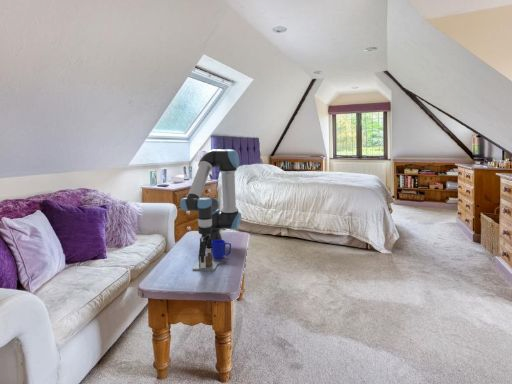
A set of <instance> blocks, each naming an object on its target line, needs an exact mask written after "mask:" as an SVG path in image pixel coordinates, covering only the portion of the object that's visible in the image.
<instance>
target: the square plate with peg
mask: <svg viewBox="0 0 512 384" xmlns="http://www.w3.org/2000/svg"><path fill="white" fill-rule="evenodd" d="M205 256H208V253H207V252H206V251H205ZM212 263H213V264H212V266H211V267H207V268H200V266H199V260H198V261H197V262H196V263H195V265H194V266H193V267H192V271H197V272H198V271H201V272H215V270H216V269H217V267H218V266H219V264H220V261H215V260H212Z"/></svg>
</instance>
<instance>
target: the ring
mask: <svg viewBox="0 0 512 384" xmlns="http://www.w3.org/2000/svg"><path fill="white" fill-rule="evenodd" d="M205 259H206V268H207V267H211V266H212V264H213V263H212V261H213V254H212V252H211V253H208V256H205ZM198 261H199V266H200V257H199V256H198Z"/></svg>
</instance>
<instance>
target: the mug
mask: <svg viewBox="0 0 512 384" xmlns="http://www.w3.org/2000/svg"><path fill="white" fill-rule="evenodd" d="M226 245H229V251H228V253H226ZM212 247H213V248H211V254H212V258H214V259H218V260H219V259H223V258H224V257H225V256H230V254H231V249H232V243H230V242H226V241H225V240H224V239H222V240H213V241H212Z"/></svg>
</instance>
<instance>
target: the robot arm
mask: <svg viewBox="0 0 512 384" xmlns="http://www.w3.org/2000/svg"><path fill="white" fill-rule="evenodd" d="M197 166H198V168H197V171H196V173H195V176H194V178H193V180H192V183H191V185H190V188H189V191H188V194H187V196H186V197H182V198H181V199H180V203H179V206H180V207H179V208H180V209H181V210H182V211H187V212H197V223H198V224H197V225H198V228H197V229H198V234H200V235H201V237H199V248H198V249H199V250H198V258H199V257H200V268H206V259H205V252H207V253H211V254H212V248H213V247H212V241H213V240H223V237H222V234H221V232H220V231H221V230H222V229H223V230H231V231H232V230H238V228H240V225H241V221H242V213H241V212H239V209H238V207H237V203H236V180H235V179H236V178H235V175H236V172H237V170H238V168H239V167H240V157H239V154H238V152H237V151H236V150H235V149H211V150H209V151H207V152H205V154H204V155H203V156H202V157H201V158H200V159H199V162H198V164H197ZM214 168H218V171H219V172H220V173H221V187H222V188H221V189H222V208H221V209H219V208H220V206H221V204H220V201H219V199H217V198H216V197H201V196H202V194H203V191H204V188H205V186H206V183H207V180H208V178H209V175H210V173H211V172H212V171H213V169H214ZM220 229H221V230H220Z"/></svg>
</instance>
